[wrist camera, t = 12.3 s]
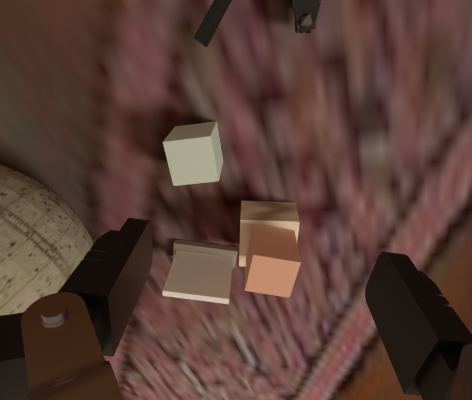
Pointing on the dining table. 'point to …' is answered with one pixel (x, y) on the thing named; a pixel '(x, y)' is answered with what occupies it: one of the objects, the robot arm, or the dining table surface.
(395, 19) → the dining table surface
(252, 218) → the beech base block
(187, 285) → the board
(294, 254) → the terracotta block
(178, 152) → the sage block
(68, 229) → the celestial globe
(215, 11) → the helicopter
